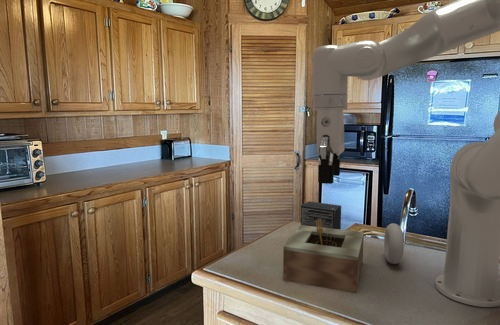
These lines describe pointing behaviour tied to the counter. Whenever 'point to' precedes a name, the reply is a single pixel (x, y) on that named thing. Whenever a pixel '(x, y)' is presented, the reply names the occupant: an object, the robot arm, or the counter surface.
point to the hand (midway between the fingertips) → (329, 179)
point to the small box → (321, 215)
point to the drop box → (324, 258)
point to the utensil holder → (325, 242)
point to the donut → (393, 243)
